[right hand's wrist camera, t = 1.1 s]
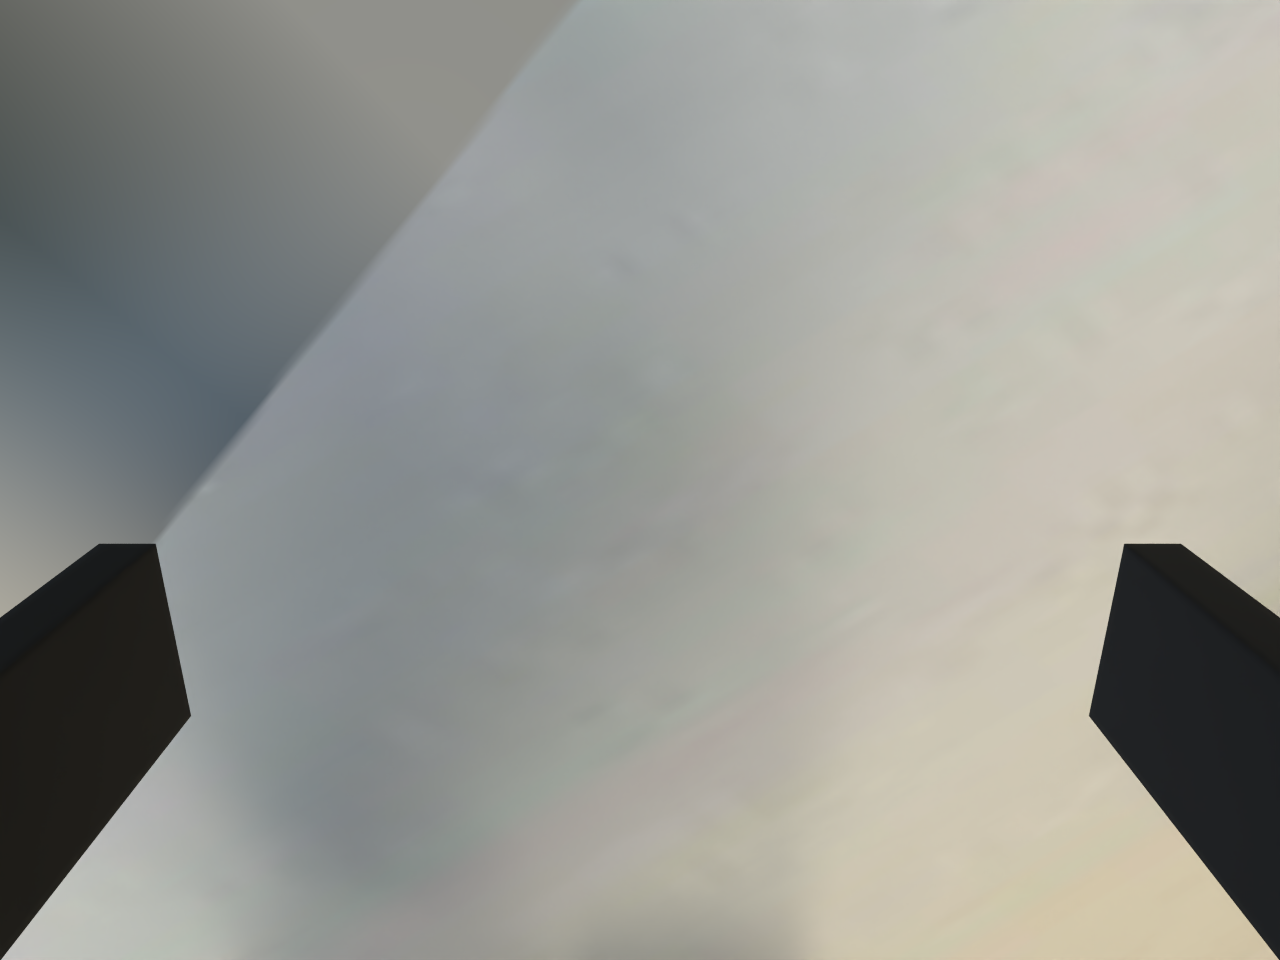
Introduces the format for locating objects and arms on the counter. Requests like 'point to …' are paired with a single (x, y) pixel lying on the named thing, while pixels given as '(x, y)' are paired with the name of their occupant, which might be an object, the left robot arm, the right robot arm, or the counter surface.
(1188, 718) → the right robot arm
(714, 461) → the counter surface
